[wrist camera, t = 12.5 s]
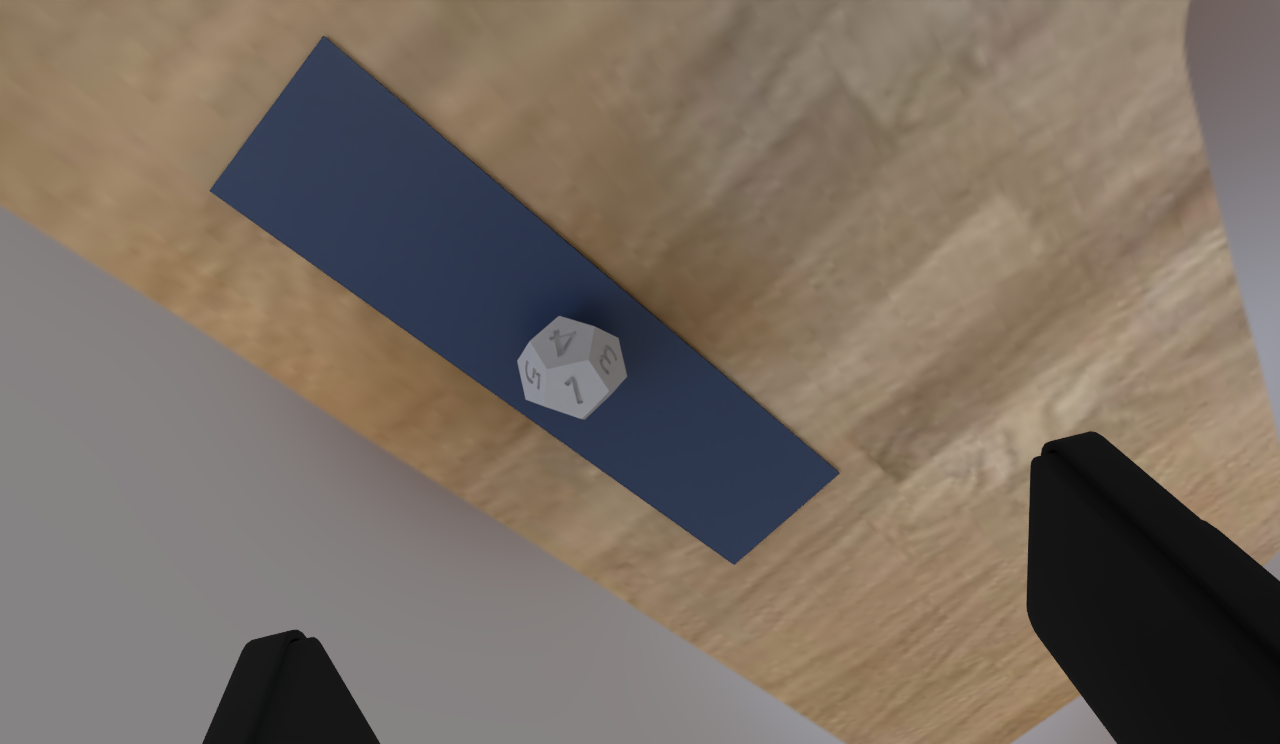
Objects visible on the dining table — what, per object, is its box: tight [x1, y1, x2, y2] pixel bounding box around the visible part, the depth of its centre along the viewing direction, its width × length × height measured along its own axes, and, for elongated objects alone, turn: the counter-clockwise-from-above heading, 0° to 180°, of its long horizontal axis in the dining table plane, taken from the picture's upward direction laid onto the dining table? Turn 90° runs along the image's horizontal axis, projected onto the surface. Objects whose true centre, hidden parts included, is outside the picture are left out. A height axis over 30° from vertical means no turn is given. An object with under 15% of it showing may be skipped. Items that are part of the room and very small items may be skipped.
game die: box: [517, 316, 627, 420], centre depth 27 cm, size 4×4×3 cm
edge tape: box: [210, 36, 839, 565], centre depth 28 cm, size 6×24×1 cm, turn 47°
